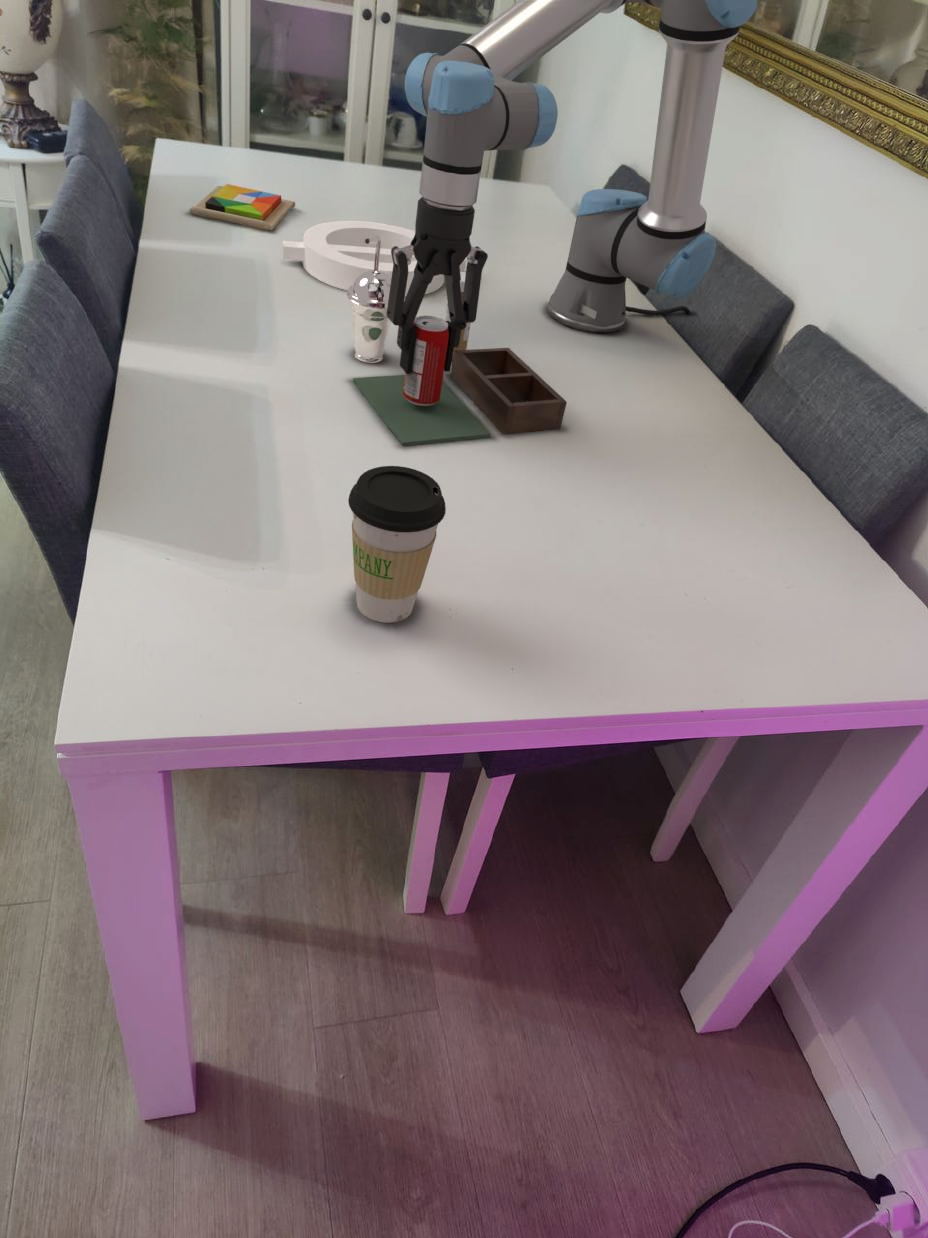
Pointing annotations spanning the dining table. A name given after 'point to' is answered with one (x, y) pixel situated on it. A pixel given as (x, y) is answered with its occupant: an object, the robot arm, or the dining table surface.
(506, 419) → the can holder
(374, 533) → the coffee cup
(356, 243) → the ring with crossbar
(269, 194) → the wooden puzzle
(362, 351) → the cup with straw
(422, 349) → the soda can
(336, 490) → the dining table surface
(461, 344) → the sprinkles bottle
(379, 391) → the rubber mat
